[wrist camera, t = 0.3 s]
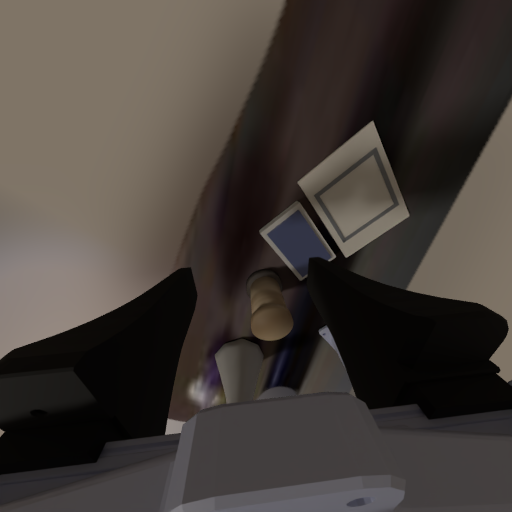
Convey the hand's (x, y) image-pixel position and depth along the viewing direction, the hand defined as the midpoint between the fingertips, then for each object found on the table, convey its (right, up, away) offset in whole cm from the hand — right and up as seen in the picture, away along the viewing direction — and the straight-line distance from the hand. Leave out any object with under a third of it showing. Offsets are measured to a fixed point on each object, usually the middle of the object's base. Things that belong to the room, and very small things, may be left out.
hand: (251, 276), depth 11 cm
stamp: (+1, -2, +12) cm, 12 cm away
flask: (-2, -14, +18) cm, 23 cm away
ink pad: (+5, +3, +10) cm, 11 cm away
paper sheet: (+11, +7, +8) cm, 15 cm away
